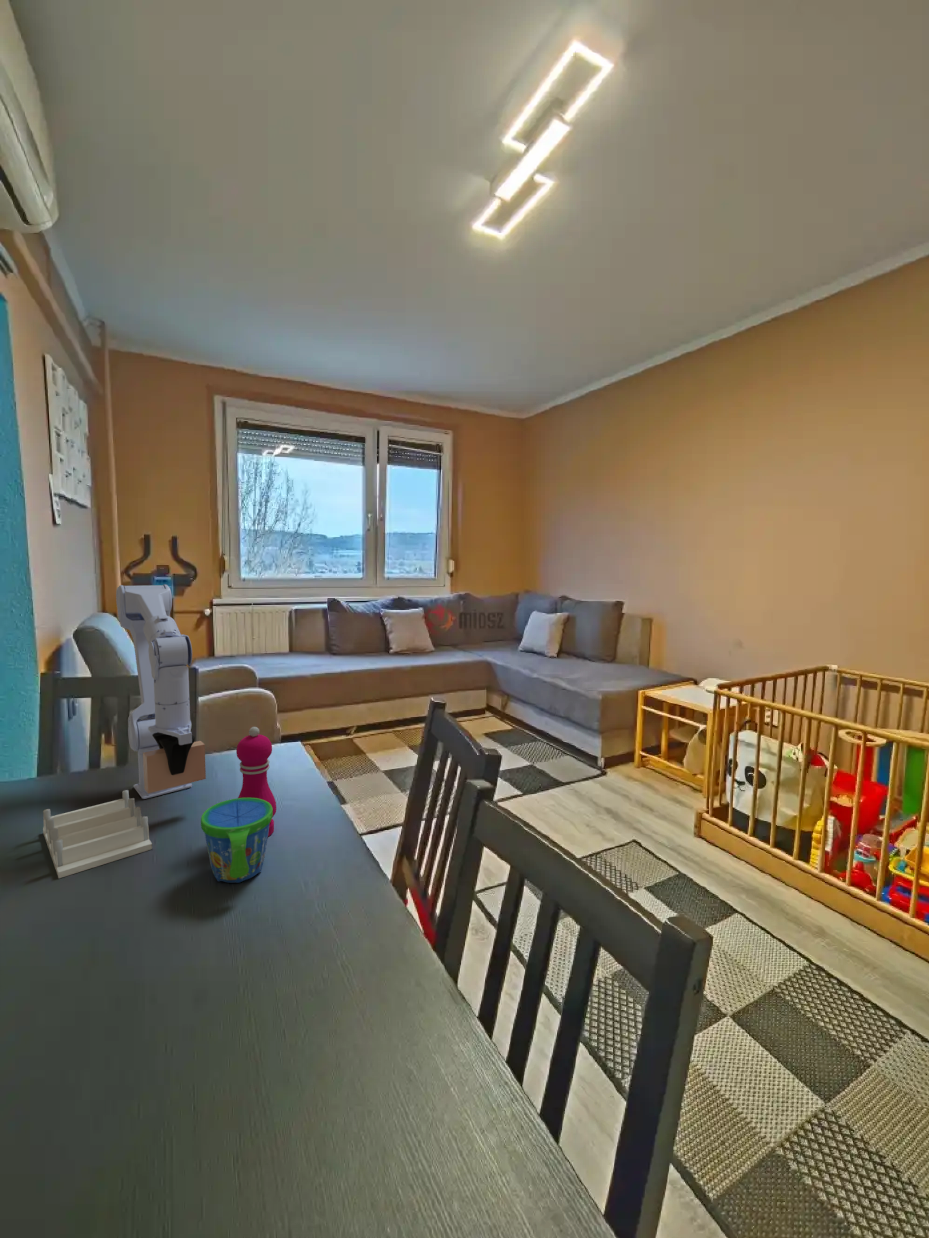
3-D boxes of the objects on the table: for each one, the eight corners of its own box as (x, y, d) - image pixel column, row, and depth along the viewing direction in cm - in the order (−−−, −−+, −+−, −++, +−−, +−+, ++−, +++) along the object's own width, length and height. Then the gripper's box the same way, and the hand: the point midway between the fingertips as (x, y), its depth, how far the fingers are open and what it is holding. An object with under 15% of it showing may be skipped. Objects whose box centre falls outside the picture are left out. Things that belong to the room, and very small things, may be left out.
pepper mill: (283, 824, 103) (282, 722, 101) (265, 844, 96) (264, 735, 93) (246, 821, 104) (244, 719, 101) (226, 841, 97) (223, 732, 94)
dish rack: (126, 810, 106) (125, 786, 106) (152, 848, 94) (151, 821, 93) (43, 833, 98) (41, 806, 97) (58, 878, 85) (56, 848, 84)
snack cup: (271, 895, 82) (270, 831, 81) (194, 907, 79) (192, 841, 78) (275, 842, 97) (274, 787, 96) (210, 850, 94) (208, 793, 92)
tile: (201, 774, 108) (200, 740, 107) (205, 778, 106) (204, 744, 105) (144, 788, 101) (142, 752, 100) (148, 793, 99) (146, 756, 98)
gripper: (137, 696, 104) (140, 764, 106) (160, 713, 94) (163, 789, 95) (177, 690, 109) (179, 755, 110) (203, 706, 98) (205, 778, 100)
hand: (174, 770), depth 103 cm, fingers closed on tile, 2 cm apart
